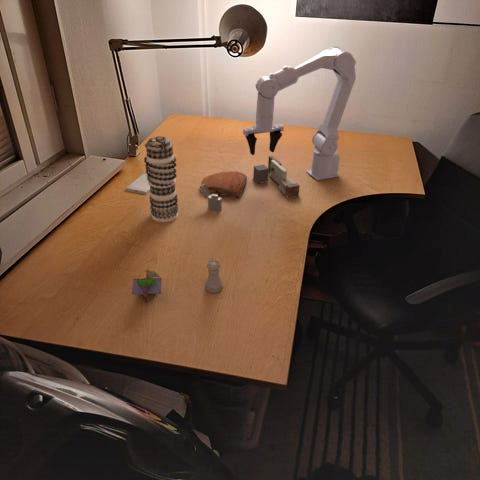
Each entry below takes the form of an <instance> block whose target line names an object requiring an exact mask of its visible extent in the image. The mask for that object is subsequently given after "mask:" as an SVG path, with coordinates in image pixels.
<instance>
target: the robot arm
mask: <svg viewBox="0 0 480 480" xmlns="http://www.w3.org/2000/svg"><path fill="white" fill-rule="evenodd" d="M356 63H357V61H356V59H355V57H354V56H353V55H352V54H351V52H349V51H345V50H343V49H342V48H340V47H338V46H331V47H330V48H329V49H327V48H326V49H324V50H322V51H321V52H320V53H318V54H317V55H315V56H313V57H311V58H309V59H307V60H305V61H304V62H302V63H301V64H299V65H297V66H295V67H294V66H291V65H288V66H287V65H284V66H282V69H280V70H278V71H275V72H270V73H269V74H268V75H263V76H261V77H260V78H258V80H257V82H256V83H255V89H256V91H257V97H256V98H257V99H256V113H255V115H256V116H255V125H253V126H252V125H251V126H249V127H246V128H243V130H242V135H244V137H245V138H246V139H245V140H246V141H247V143H248V149H249V154H250V155H251V156H254V155H255V154H256V144H257V140H258V138H257V137H256V135H258V134H259V135H260V134H265V133H266V134H267V133H269V151H270V152H271V153H274V152H275V150H276V147H277V144H278V143H279V140H280V139H282V136H283V133H282V132H284V130H285V126H284V125H283V124H281V123H279V124H278V123H277V124H274V111H275V97H276V96H277V94H278V92H280V91H282V90H284V89H286V88H288V87H290V86H293V85H295V84H297V82H298V80H299V78H300V77H303V76H306V75H308V74H311V73H313V72H315V71H318V70H320V69H325V70H330V71H333V72H334V75H335V76H336V78H337V82H336V85H335V89H334V91H333V94H332V96H331V100H330V102H329V104H328V108H327V111H326V114H325V116H324V119H323V123H322V124H320V125H319V126H317V127H318V128H317V130H316V132H315V133H314V134H313V136H312V138H311V141H312V145H313V146H314V147H313V154H312V160H311V161H312V162H311V168H310V169H307V170H306V173H308V174H309V175H310V176H311V177H312V178H314V179H315V180H316V181H320V180H326V179H327V180H328V179H331V178H332V179H333V178H337V177H339V174H338V172H339V167H340V154H339V152H338V151H337V150H338V145H339V144H338V141H339V138H340V134H339V132H338V131H339V130H338V128H339V125H340V123H341V120H342V117H343V115H344V112H345V109H346V106H347V103H348V101H349V98H350V96H351V93H352V90H353V87H354V84H355V81H356V77H357V75H356V68H355V67H356Z"/></svg>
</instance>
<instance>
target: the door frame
mask: <svg viewBox="0 0 480 480" xmlns="http://www.w3.org/2000/svg"><path fill="white" fill-rule="evenodd" d="M271 160H275V161H276V162H277V163H278V164H279V165H280V166H282V163H281V162H280V161H279V160H278V159H277V158H276V157H274V155H269V156H268V165H267V168H268V169H269V171H268V173H270V168H271ZM278 185H279V184H278ZM278 189H279V191H280V192H282V193H283V195H285V197H287V198H288V199H289V198H294V197H295V196H296V197H299V196H300V195H299V194H300V184H299V183H298V182H295V181H294V180H293V179H291V178H286V179H284V180H280V185H279V186H278ZM296 197H295V198H296Z"/></svg>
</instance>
